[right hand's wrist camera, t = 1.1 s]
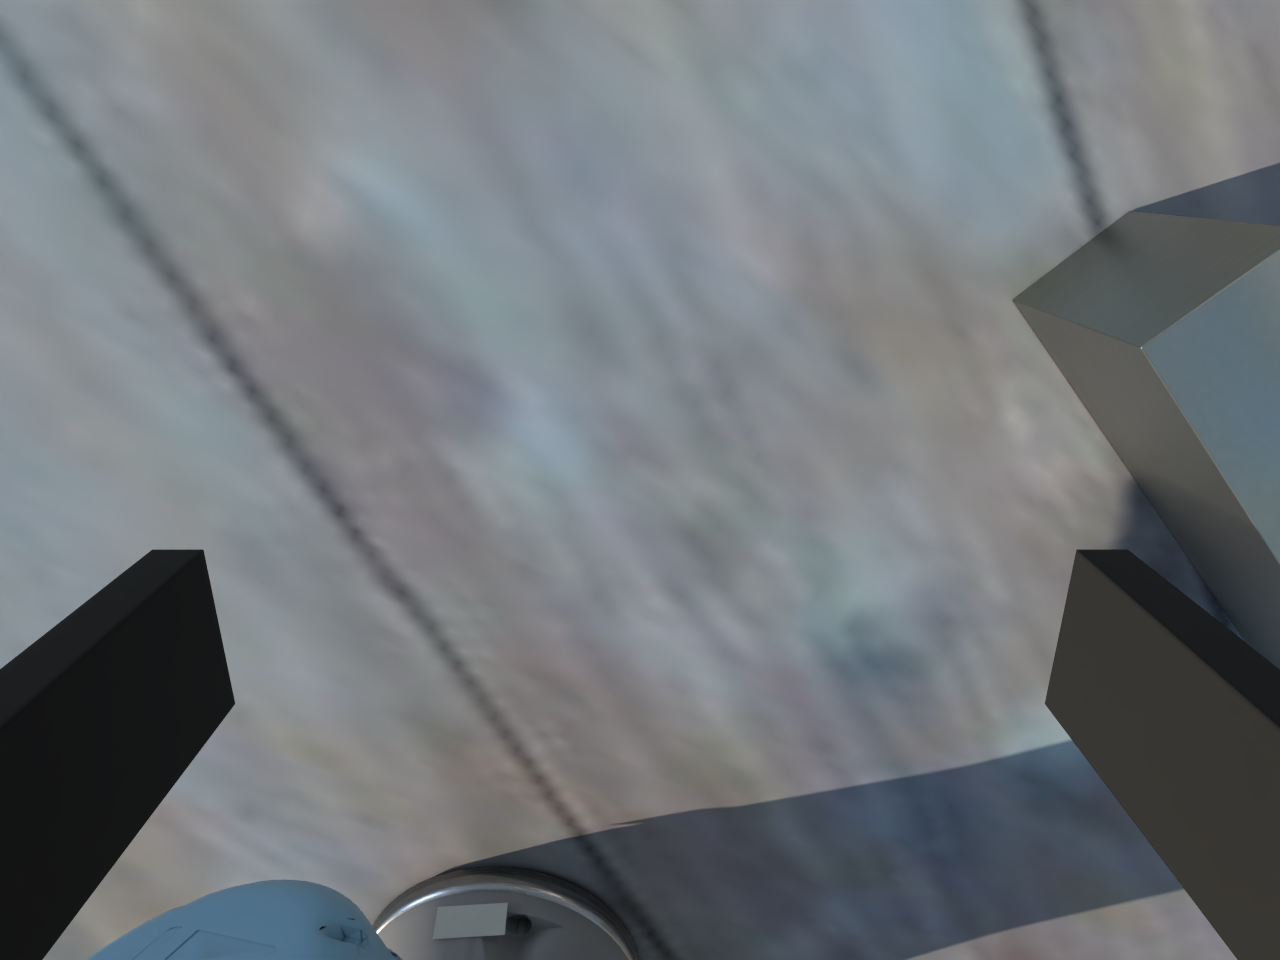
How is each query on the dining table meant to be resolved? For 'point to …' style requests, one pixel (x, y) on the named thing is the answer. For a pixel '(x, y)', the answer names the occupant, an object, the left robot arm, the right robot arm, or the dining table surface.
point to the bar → (1184, 387)
